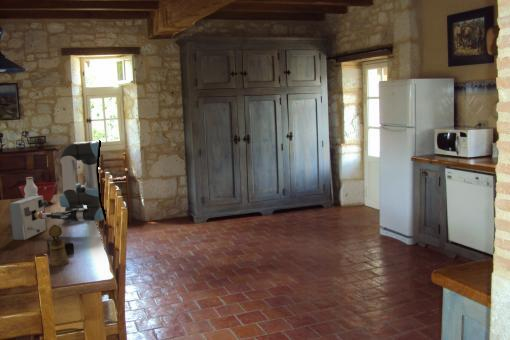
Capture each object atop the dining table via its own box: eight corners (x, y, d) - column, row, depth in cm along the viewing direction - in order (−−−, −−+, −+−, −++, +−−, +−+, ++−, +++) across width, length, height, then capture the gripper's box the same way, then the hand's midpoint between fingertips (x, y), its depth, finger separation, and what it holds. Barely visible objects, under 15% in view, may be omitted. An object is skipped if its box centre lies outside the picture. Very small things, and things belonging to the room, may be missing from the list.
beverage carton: (61, 247, 293) (60, 235, 292) (75, 254, 279) (73, 242, 278) (47, 250, 288) (45, 238, 287) (60, 257, 274) (58, 245, 273)
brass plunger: (28, 219, 323) (27, 212, 323) (32, 218, 328) (31, 210, 327) (41, 219, 322) (40, 212, 321) (45, 217, 327) (44, 210, 326)
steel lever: (27, 229, 317) (28, 226, 316) (29, 228, 319) (29, 225, 318) (38, 233, 316) (39, 230, 316) (40, 232, 318) (40, 229, 318)
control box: (13, 239, 316) (8, 203, 313) (35, 229, 339) (31, 195, 336) (28, 239, 314) (24, 203, 311) (49, 229, 338) (45, 195, 335)
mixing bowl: (27, 201, 446) (25, 183, 444) (62, 199, 449) (60, 181, 447) (16, 208, 418) (13, 189, 416) (53, 205, 421) (51, 186, 419)
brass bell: (67, 257, 273) (63, 223, 270) (69, 264, 260) (65, 228, 258) (48, 260, 269) (45, 225, 267) (50, 267, 257) (46, 231, 254)
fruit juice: (38, 216, 382) (34, 177, 378) (25, 217, 380) (20, 178, 377) (41, 213, 391) (37, 176, 387) (28, 214, 390) (24, 177, 386)
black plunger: (37, 207, 331) (36, 201, 330) (40, 206, 334) (39, 200, 334) (45, 207, 330) (44, 201, 329) (48, 205, 333) (47, 200, 333)
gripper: (74, 223, 314) (37, 224, 317) (84, 218, 327) (48, 219, 330) (73, 211, 313) (36, 211, 316) (83, 206, 326) (47, 207, 329)
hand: (42, 215), depth 323 cm, fingers closed
